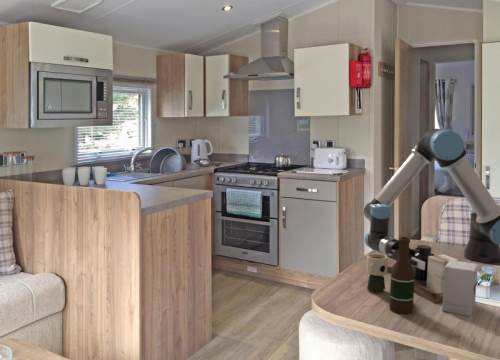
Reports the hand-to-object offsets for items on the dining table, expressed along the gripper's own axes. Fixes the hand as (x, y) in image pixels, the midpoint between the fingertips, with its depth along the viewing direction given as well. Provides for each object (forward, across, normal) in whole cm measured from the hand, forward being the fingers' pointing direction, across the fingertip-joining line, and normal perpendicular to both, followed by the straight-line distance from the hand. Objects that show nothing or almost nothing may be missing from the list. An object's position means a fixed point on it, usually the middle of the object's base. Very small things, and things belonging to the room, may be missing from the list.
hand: (432, 265), depth 174 cm
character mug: (-7, +18, -10) cm, 22 cm away
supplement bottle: (-5, 0, -7) cm, 8 cm away
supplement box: (+16, +2, -10) cm, 19 cm away
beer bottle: (+10, +20, -10) cm, 24 cm away
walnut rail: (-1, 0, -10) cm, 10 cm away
